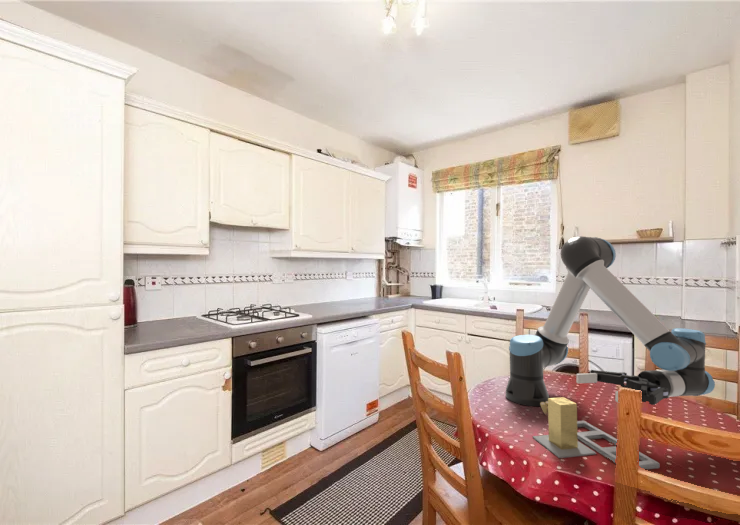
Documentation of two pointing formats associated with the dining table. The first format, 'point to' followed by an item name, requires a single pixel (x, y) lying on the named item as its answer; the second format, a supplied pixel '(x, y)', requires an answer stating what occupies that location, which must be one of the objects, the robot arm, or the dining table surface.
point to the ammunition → (544, 407)
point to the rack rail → (609, 451)
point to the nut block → (562, 423)
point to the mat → (564, 453)
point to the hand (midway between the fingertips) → (595, 387)
